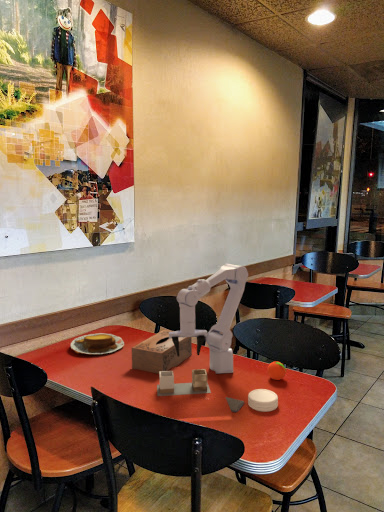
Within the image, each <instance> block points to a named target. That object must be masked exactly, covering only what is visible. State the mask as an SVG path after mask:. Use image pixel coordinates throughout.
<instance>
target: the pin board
mask: <svg viewBox="0 0 384 512" xmlns="http://www.w3.org/2000/svg"><path fill="white" fill-rule="evenodd" d="M156 392H157V395H156V396H157V397H165V396H166V397H167V396H168V397H169V396H182V395H183V396H185V395H201V394H202V395H203V394H212V392H211V389H210V385H209V383H208V381H207V391H193V387H192V382H181V383H174V392H173V393H160V384H156Z"/></svg>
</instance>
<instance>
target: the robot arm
mask: <svg viewBox="0 0 384 512" xmlns="http://www.w3.org/2000/svg"><path fill="white" fill-rule="evenodd" d="M248 278H249V272H248V269H247V267H246V266H244V265H238V264H237V265H236V264H231V263H225V264H224V265H221V266H220V268H219V269H218V270H217V271H216V272H214V273H213V274H212V275H210V276H209V277H208V278H207V279H204V278H203V279H200V278H199V279H197V280H196V282H195V283H194V284H191V285H189V286H188V287H187V288H182V289H180V290H179V291H178V293H177V296H176V298H175V299H176V301H177V302H178V304H179V305H178V306H179V323H180V327H179V328H180V330H176V331H174V330H173V331H174V332H169V339H170V338H172V341H173V343H174V345H175V348H176V351H177V356H178V357H179V338H178V337H194V338H195V337H196V355H197V356H200V353H201V352H200V351H201V349H202V346H203V344H204V342H206V344H207V345H208V348H209V369H210V370H211V371H214V372H215V374H232V373H234V352H233V349H232V348H231V345H232V338H233V335H234V334H233V332H232V331H231V326H232V323H233V320H234V318H235V316H236V312H237V310H238V308H239V304H240V302H241V299H242V297H243V294H244V292H245V287H246V283H247V280H248ZM224 280H225V282H226V283H227V284H228V285H229V288H230V289H229V292H228V295H227V296H226V300H225V302H224V304H223V308H222V310H221V313H220V315H219V318H218V320H217V323H215V324H214V325H212V326H211V327H210V329H209V331H207V330H206V329H196V305H197V304H198V301H199V300H200V299H201V298H202V297H204V296H205V295H207V294H208V293H210V292H211V288H212V287H214V286H215V285H217V284H219V283H221V282H223V281H224Z"/></svg>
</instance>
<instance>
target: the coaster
mask: <svg viewBox="0 0 384 512" xmlns="http://www.w3.org/2000/svg"><path fill="white" fill-rule="evenodd" d="M278 400H279V397H278V394H277V393H275V392H274V391H272V390H270V389H265V388H258V389H253V390H251V391H249V392H248V395H247V404H248V406H249V407H250V408H251V409H253V410H255V411H257V412H262V413H264V412H266V413H267V412H272V411H275V410H276V409H277V408H278V407H279V401H278Z"/></svg>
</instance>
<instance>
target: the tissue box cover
mask: <svg viewBox="0 0 384 512" xmlns="http://www.w3.org/2000/svg"><path fill="white" fill-rule="evenodd" d="M169 332H174V330H168V329H163V330H161V331H159V332H158V333H155V334H153V335H151V336H149V337H148V338H146V339H144V340H143V341H141V342H139V343H137V344H136V345H134V346H132V347H131V348H130V349H131V370H140V371H143V372H150V373H153V374H159V371H170V369H172V368H177V366H179V365H180V364H182V363H183V362H184V361H185V360H187V359H188V358H190V357H191V356H193V354H192V347H193V346H192V344H193V343H192V337H178V338H179V357H178V356H177V351H176V348H175V345H174V343H173V341H172V338H170V339H169Z"/></svg>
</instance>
